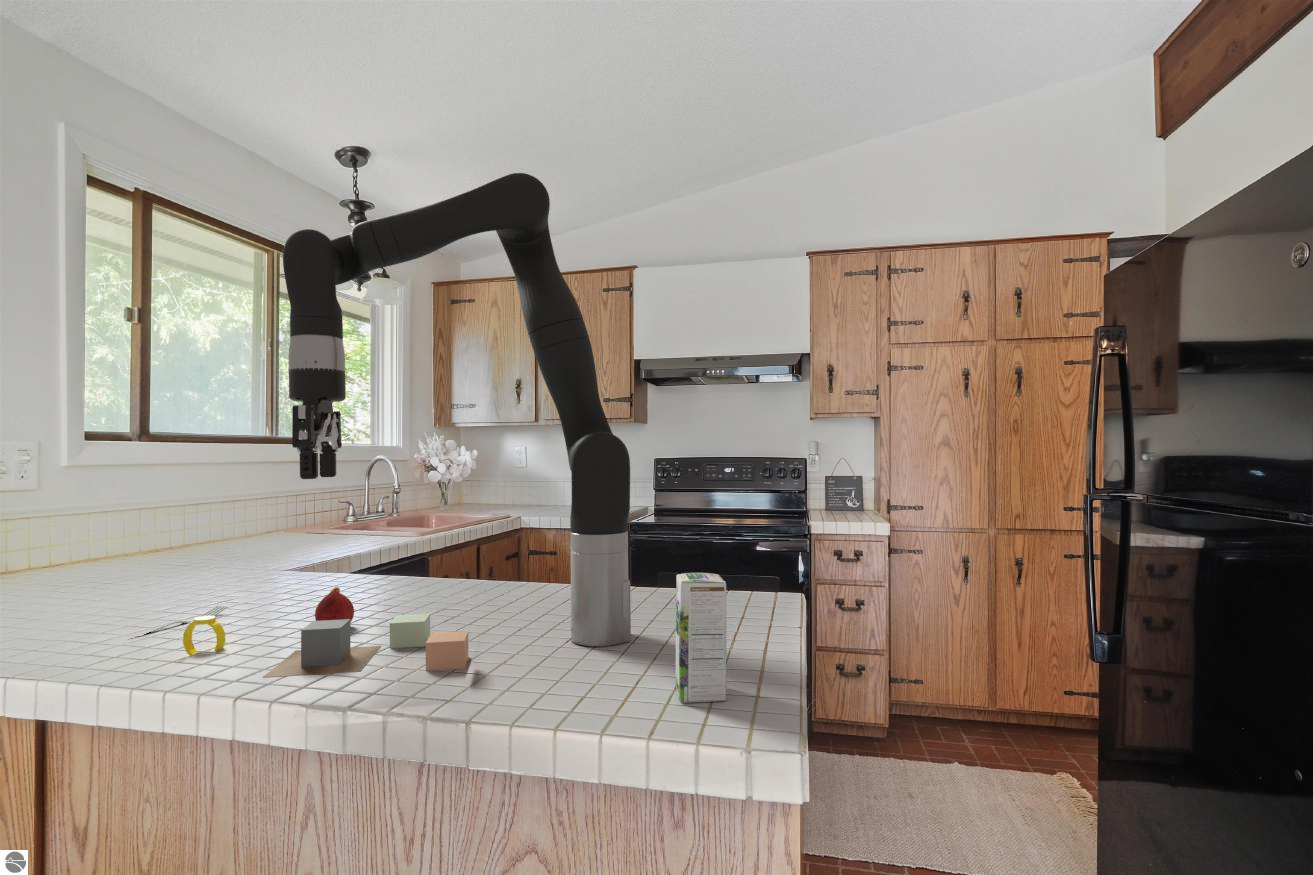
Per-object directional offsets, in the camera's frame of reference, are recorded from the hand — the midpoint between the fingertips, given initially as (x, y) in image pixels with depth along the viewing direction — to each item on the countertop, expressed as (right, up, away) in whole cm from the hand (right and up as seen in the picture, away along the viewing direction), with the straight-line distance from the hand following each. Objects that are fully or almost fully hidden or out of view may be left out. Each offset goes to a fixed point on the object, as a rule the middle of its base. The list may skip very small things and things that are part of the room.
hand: (319, 477), depth 99 cm
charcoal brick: (+4, -25, -5) cm, 26 cm away
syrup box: (+56, -26, -17) cm, 64 cm away
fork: (-36, -28, +17) cm, 48 cm away
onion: (-3, -27, +12) cm, 30 cm away
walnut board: (+4, -26, -6) cm, 27 cm away
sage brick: (+12, -27, +3) cm, 30 cm away
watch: (-18, -27, +1) cm, 32 cm away
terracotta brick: (+21, -26, -7) cm, 35 cm away
